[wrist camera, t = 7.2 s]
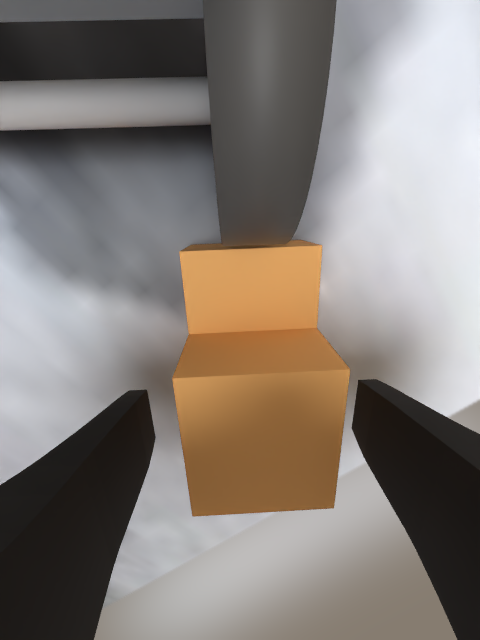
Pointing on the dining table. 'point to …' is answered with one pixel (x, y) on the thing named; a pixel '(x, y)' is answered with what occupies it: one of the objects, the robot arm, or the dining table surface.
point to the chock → (258, 381)
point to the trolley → (208, 98)
